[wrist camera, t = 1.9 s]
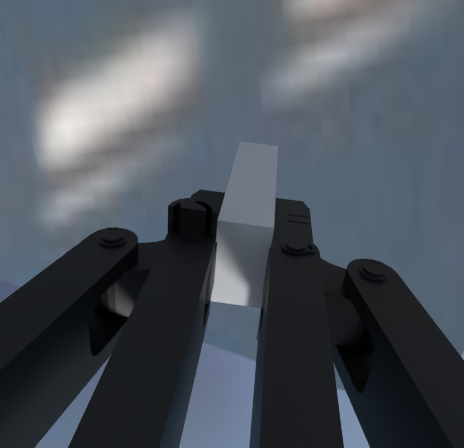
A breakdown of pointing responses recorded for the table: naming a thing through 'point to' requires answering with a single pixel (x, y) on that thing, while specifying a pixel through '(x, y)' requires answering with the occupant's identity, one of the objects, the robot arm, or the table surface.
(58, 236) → the table surface
